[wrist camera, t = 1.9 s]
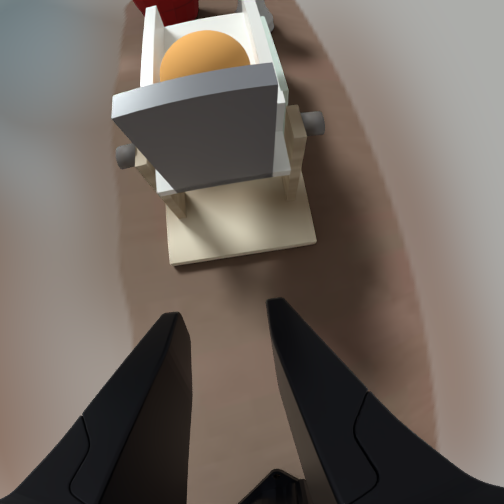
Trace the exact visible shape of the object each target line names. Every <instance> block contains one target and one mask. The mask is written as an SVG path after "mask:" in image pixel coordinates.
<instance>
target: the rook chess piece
mask: <svg viewBox="0 0 504 504" xmlns="http://www.w3.org/2000/svg"><path fill="white" fill-rule="evenodd" d="M255 2H256V5H257V8H258V12H259V15H260V16H264V17H265V19H266V22H267V25H268V28H269V31H270V32H271V31H272V30H273V28H274V23H273V16H272V14H271V13H270V12H269V10H268V9H267V8H266V6H265V3H264V0H255ZM241 12H242V1H241V0H238V7H237V10H236V11H235V13H241Z"/></svg>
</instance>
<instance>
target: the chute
mask: <svg viewBox="0 0 504 504" xmlns="http://www.w3.org/2000/svg"><path fill="white" fill-rule="evenodd" d="M241 1H242V12H241V13H234V14H227V15H220V16H214V17H208V18H203V19H198V20H193V21H188V22H183V23H179V24H175V25H171V26H167V27H164V25H163V22H162V20H161V17H160V14H159V12H158V9H157V7H156V5H155V6H152V7H148V8H146V13H145V22H144V33H143V46H142V62H141V83H140V88H137V89H133V90H130V91H126V92H123V93H120V94H117V95H114V96H113V103H112V120H113V121H114V122H115V123H116V124H117V126H118V127H119V128H120V129H121V130H122V131H123V132H124V134H125V135H126V136H127V137H128V138H129V139H130V140H131V142H132V143H133V144H134V145H135V146H136V147H137V148H138V150H139V151H140V152H141V153H142V154H143V155H144V156H145V158H146V159H147V160H148V161H149V162H150V163H151V164H152V165H153V167H154V168H155V170H156V187H157V193H158V194H159V195H160V196H166V195H171V194H176V193H181V192H187V191H192V190H197V189H203V188H208V187H214V186H220V185H226V184H232V183H238V182H244V181H251V180H257V179H264V178H271V177H278V176H285V175H290V172H291V168H290V163H289V158H288V154H287V149H286V144H285V140H284V135H283V121H284V112H285V99H284V95H283V91H281V90H280V86H279V82H278V79H277V75H276V71H275V67H274V64H273V60H272V56H271V53H270V49H269V46H268V42H267V39H266V35H265V32H264V28H263V25H262V21H261V18H260V15H259V12H258V8H257V5H256V2H255V0H241ZM202 30H213V31H218V32H222V33H225V34H227V35H229V36H231V37H233V38H234V39H235V40H237V41H238V42H239V43H240V44H241V45H242V46H243V48H244V49H245V51H246V53H247V55H248V57H249V60H250V65H246V66H239V67H232V68H226V69H220V70H214V71H208V72H203V73H198V74H193V75H188V76H184V77H179V78H175V79H171V80H167V81H163V82H160V66H161V62H162V59H163V57H164V55H165V53H166V52H167V50H168V49H169V48H170V47H171V45H172V44H173V43H174V42H176V41H177V40H178V39H180V38H181V37H183V36H185V35H187V34H189V33H192V32H196V31H202Z"/></svg>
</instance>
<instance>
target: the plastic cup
mask: <svg viewBox="0 0 504 504" xmlns="http://www.w3.org/2000/svg"><path fill="white" fill-rule="evenodd" d="M133 2H134V3H135V5H136V6H137V8H138V9H139V10H140V11H141V12H142V14H143V15H144V17H145V13H146V8H148V7H152V6H155V5H156V7H157V9H158V12H159V14H160V17H161V20H162V22H163V25H164V27H167V26H171V25H175V24H179V23H183V22H188V21H193V20H195V18H196V17H197V15H198V11H199V8H198V0H133Z"/></svg>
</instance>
